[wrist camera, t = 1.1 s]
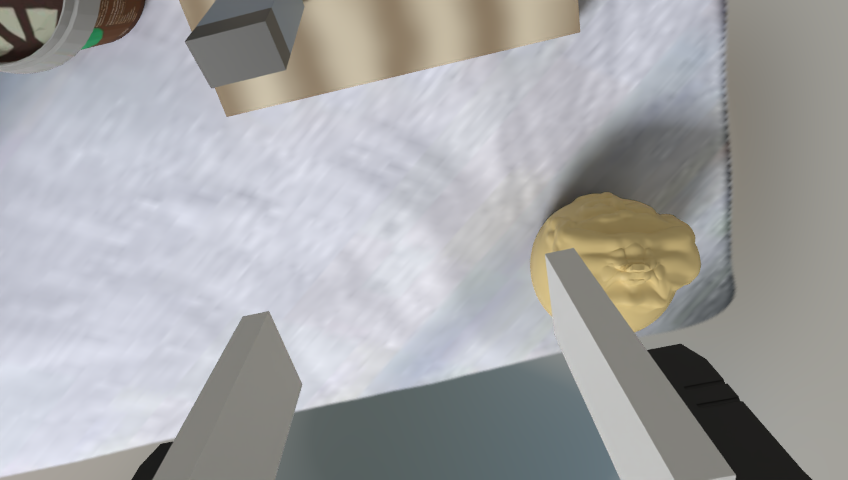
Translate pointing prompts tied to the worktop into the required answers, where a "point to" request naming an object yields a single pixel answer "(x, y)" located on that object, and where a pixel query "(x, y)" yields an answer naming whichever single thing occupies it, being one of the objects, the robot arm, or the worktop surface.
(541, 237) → the pale yellow wrinkled ball
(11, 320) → the worktop surface
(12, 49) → the food container
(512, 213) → the worktop surface
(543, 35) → the switch board
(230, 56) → the lever
